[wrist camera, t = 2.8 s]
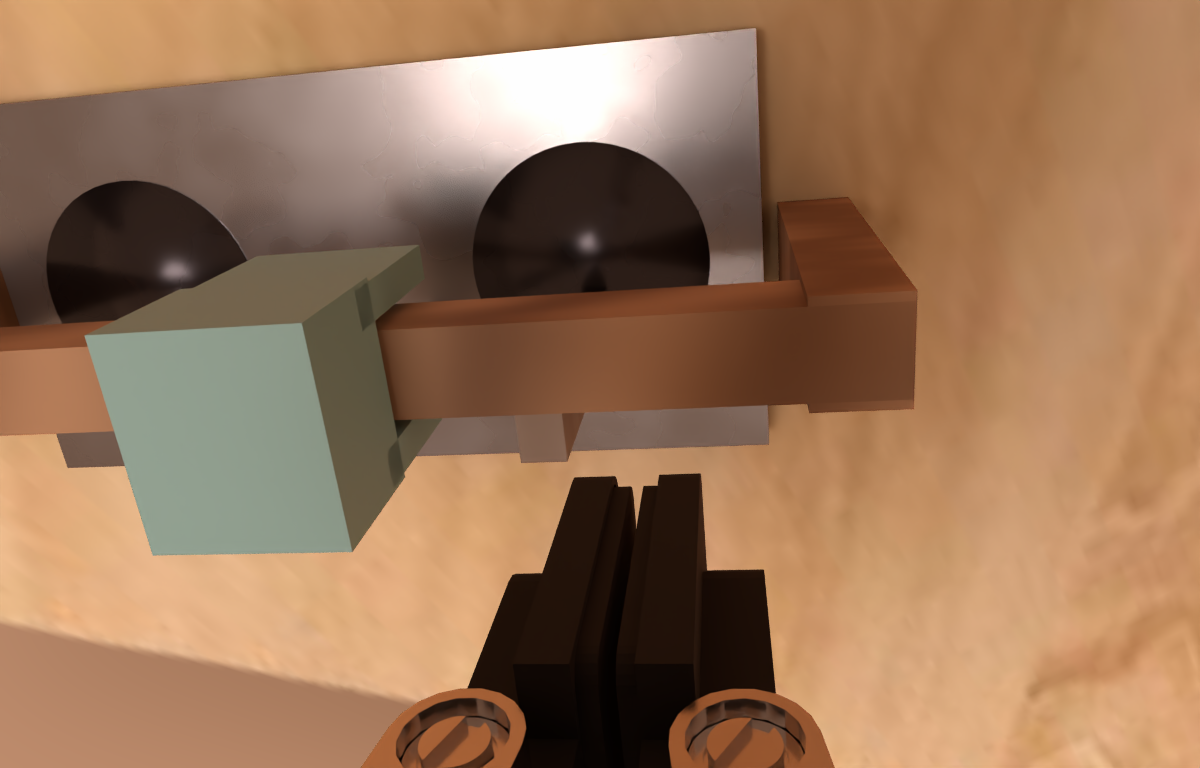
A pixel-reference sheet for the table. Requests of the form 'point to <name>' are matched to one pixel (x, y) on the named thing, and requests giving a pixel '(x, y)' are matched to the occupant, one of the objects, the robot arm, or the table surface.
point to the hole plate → (405, 194)
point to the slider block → (262, 404)
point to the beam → (588, 346)
